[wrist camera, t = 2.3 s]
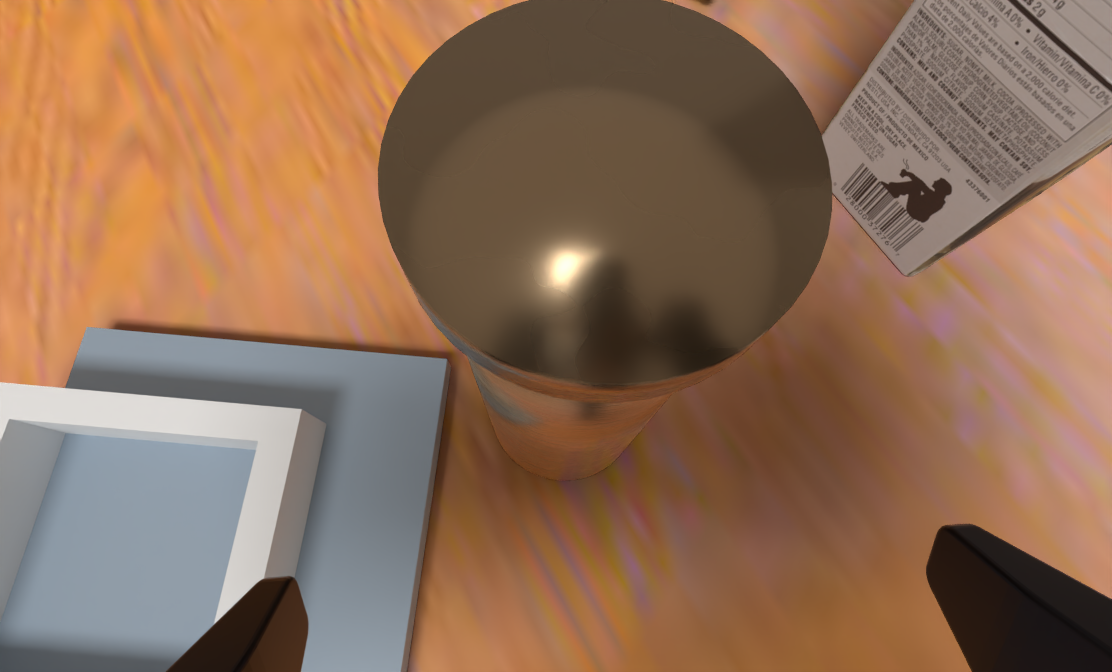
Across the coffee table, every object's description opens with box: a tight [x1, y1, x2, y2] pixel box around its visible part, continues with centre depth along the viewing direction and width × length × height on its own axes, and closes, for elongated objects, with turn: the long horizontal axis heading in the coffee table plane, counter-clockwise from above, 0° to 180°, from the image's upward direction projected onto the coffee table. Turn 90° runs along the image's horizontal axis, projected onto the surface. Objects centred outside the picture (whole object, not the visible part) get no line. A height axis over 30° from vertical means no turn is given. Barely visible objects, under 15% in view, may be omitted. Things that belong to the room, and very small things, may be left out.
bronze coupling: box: [378, 0, 832, 481], centre depth 15 cm, size 6×6×14 cm
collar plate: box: [0, 327, 451, 672], centre depth 17 cm, size 16×12×3 cm
